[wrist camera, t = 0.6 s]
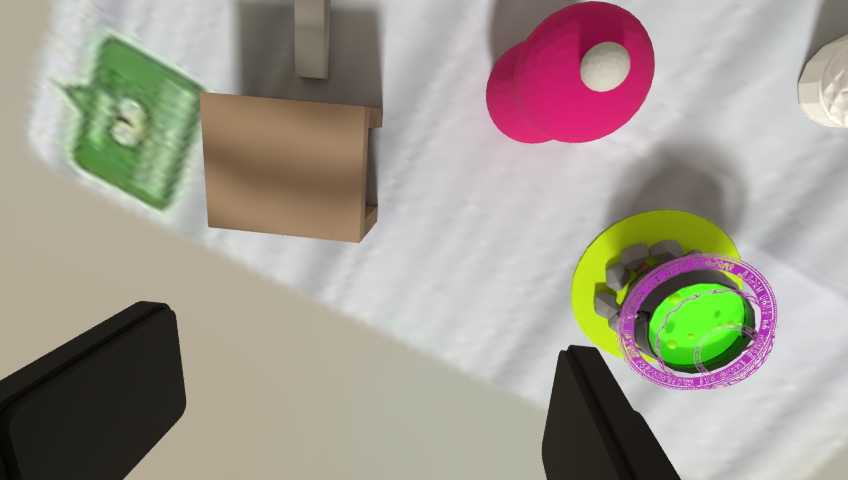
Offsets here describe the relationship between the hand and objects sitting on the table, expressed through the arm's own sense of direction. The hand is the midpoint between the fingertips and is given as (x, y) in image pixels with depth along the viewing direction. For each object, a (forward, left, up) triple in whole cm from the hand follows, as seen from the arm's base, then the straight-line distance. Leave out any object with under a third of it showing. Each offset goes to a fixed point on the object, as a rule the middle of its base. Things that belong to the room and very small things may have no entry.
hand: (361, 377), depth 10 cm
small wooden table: (-1, -11, -28) cm, 30 cm away
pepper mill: (-9, +7, -29) cm, 31 cm away
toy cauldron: (+7, +21, -29) cm, 36 cm away
